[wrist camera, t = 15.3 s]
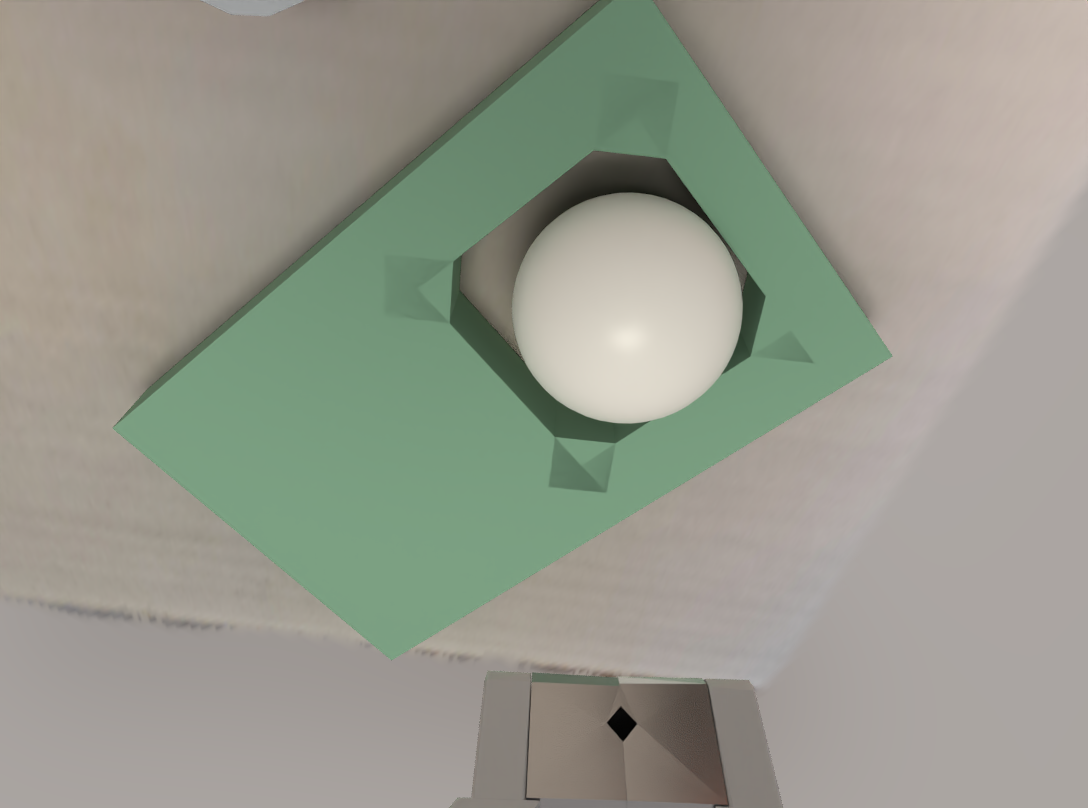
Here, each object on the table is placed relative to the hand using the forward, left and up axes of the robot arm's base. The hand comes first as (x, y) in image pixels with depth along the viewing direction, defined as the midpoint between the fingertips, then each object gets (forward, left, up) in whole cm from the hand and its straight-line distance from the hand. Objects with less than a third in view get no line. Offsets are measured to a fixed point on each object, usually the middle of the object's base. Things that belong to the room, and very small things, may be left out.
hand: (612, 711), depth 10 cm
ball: (+2, -7, -28) cm, 29 cm away
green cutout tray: (-4, -12, -33) cm, 35 cm away
